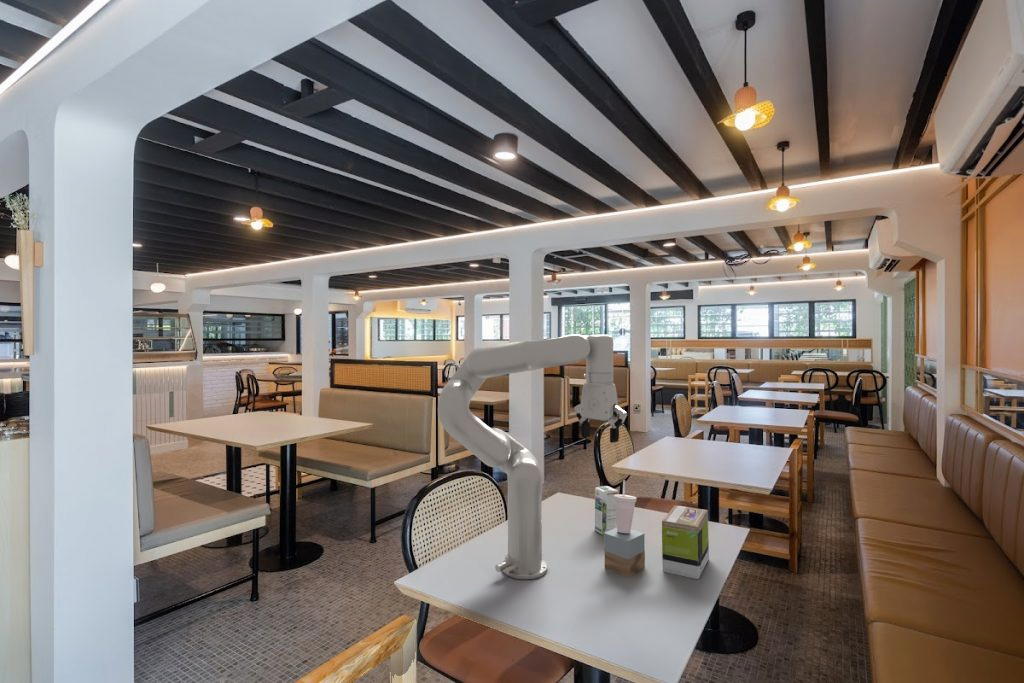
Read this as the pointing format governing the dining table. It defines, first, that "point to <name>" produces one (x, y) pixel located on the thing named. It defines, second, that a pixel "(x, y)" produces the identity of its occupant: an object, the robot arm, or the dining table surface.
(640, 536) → the tower top
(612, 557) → the tower base
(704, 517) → the tea box
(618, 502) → the smoothie
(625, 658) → the dining table surface
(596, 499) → the syrup box
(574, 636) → the dining table surface
